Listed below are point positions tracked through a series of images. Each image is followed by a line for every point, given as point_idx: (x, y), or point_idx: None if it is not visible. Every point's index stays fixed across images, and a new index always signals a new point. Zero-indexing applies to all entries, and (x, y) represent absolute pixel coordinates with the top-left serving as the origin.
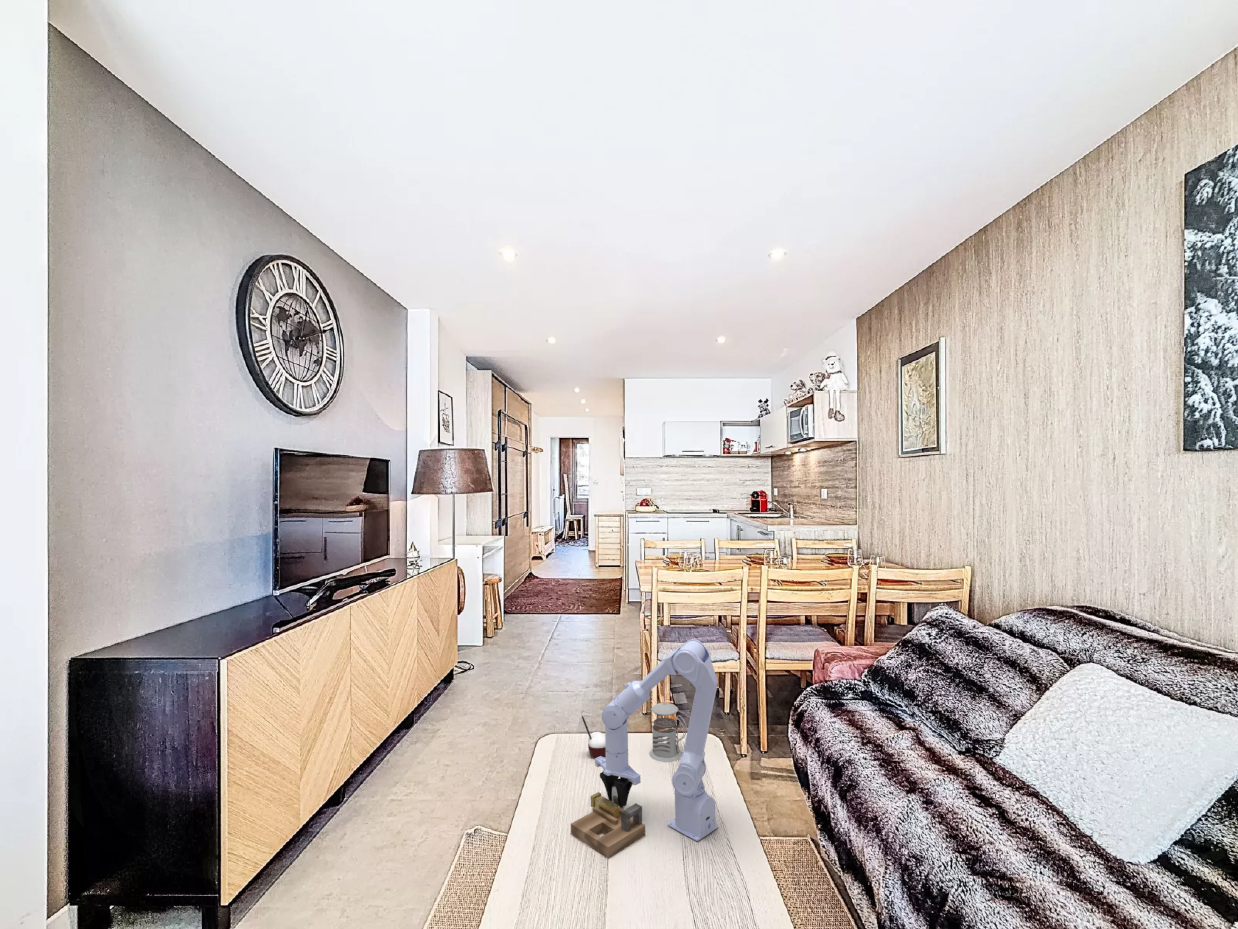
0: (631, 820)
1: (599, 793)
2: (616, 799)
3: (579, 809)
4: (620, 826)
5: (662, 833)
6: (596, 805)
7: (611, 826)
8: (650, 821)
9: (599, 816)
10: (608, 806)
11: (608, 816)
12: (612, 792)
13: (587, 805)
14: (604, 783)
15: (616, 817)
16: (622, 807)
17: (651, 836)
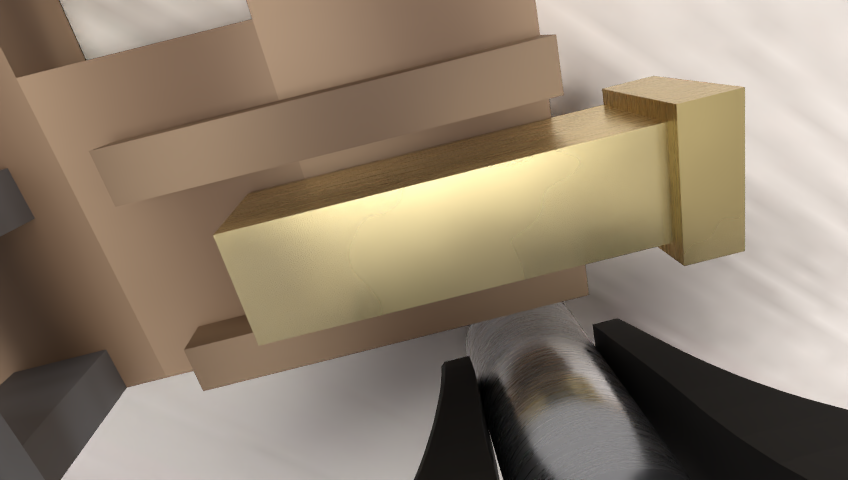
0: (131, 344)
1: (701, 245)
2: (512, 384)
3: (786, 30)
4: (55, 182)
5: None
6: (577, 119)
7: (102, 82)
8: (242, 472)
9: (394, 60)
10: (332, 202)
11: (248, 130)
12: (592, 406)
13: (781, 140)
14: (795, 410)
15: None
16: None
17: None
